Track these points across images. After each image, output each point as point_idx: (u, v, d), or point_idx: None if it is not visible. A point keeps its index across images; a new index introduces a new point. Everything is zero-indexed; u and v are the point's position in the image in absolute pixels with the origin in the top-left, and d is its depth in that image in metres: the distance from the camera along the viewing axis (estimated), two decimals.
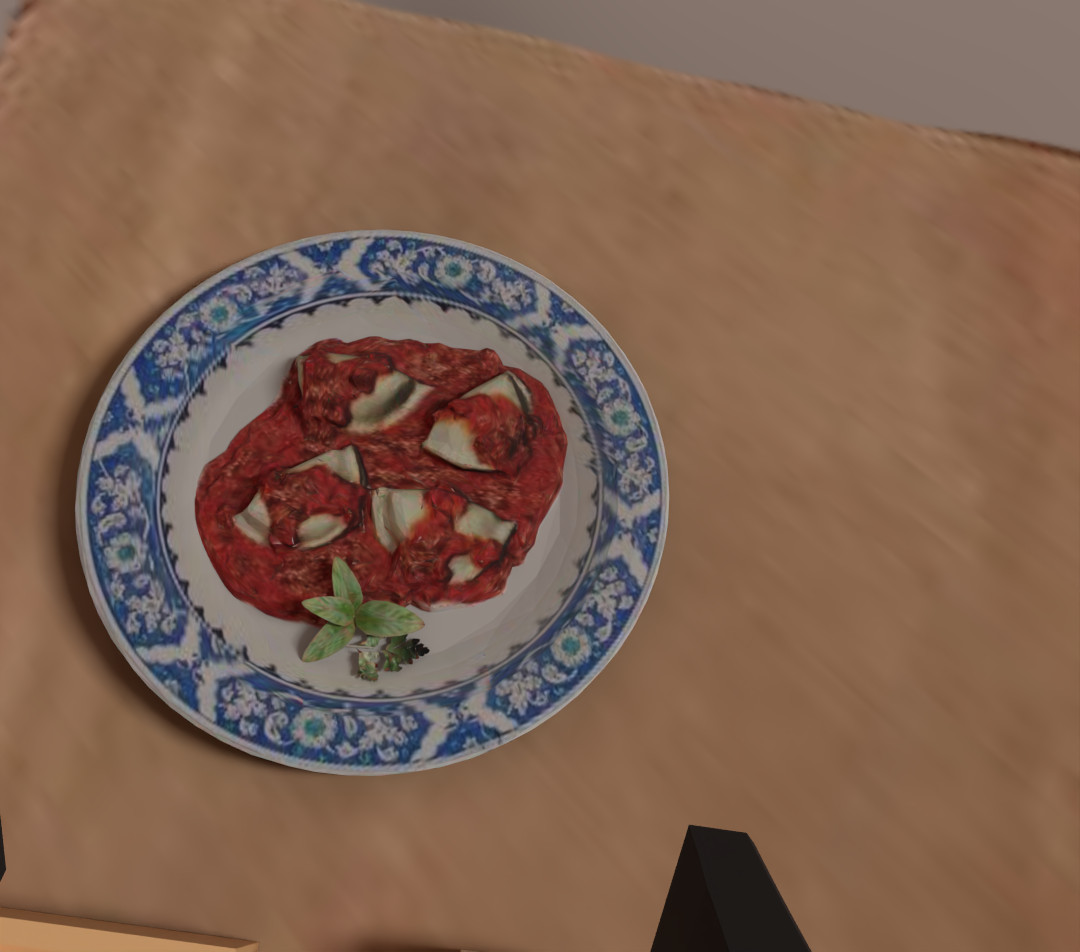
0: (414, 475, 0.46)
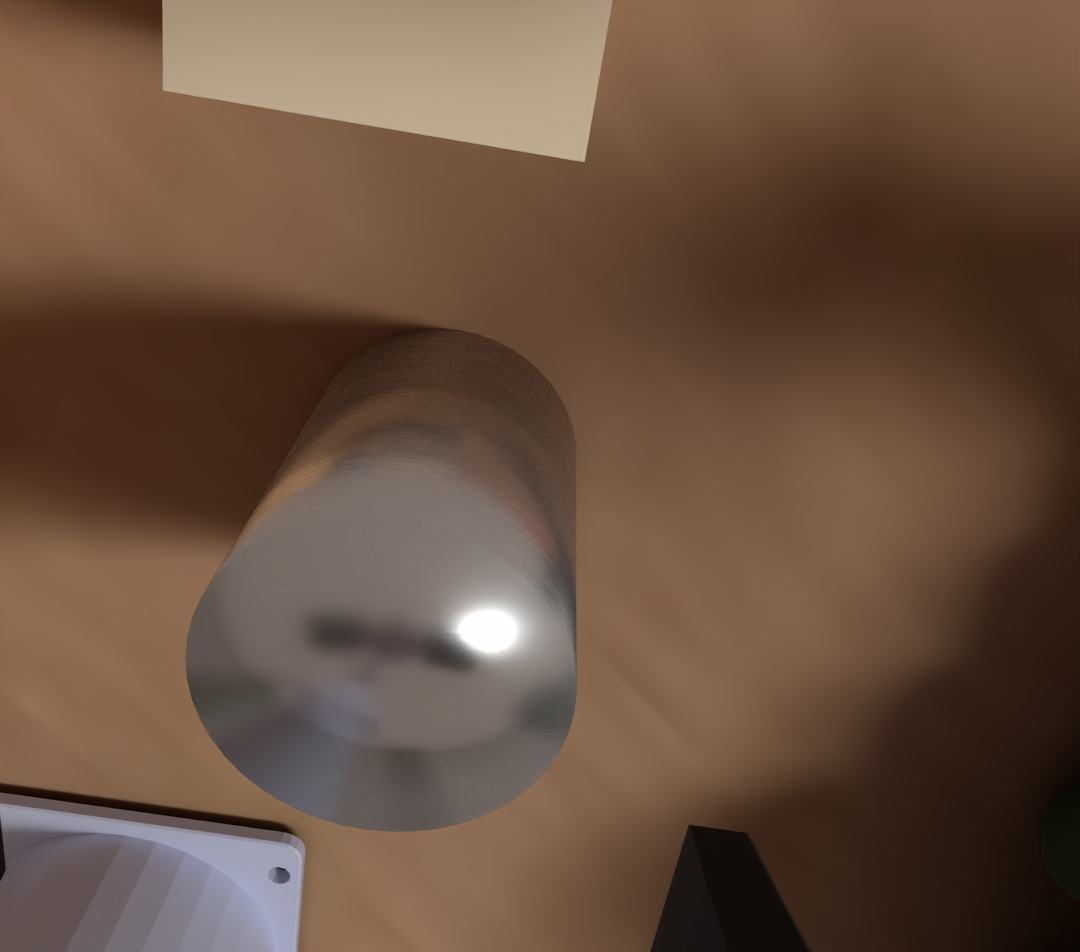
0: None
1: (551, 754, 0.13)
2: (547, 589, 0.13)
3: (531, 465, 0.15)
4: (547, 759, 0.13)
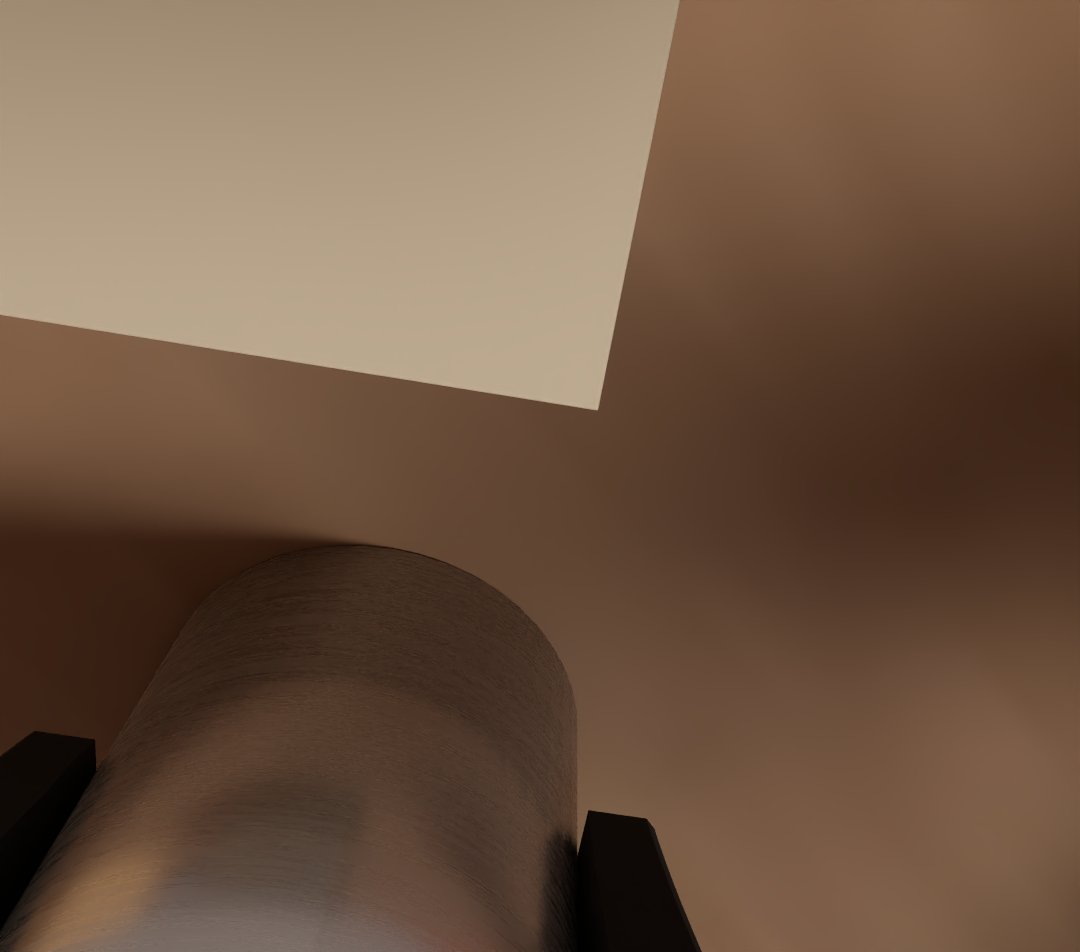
0: None
1: None
2: None
3: (495, 894, 0.08)
4: None
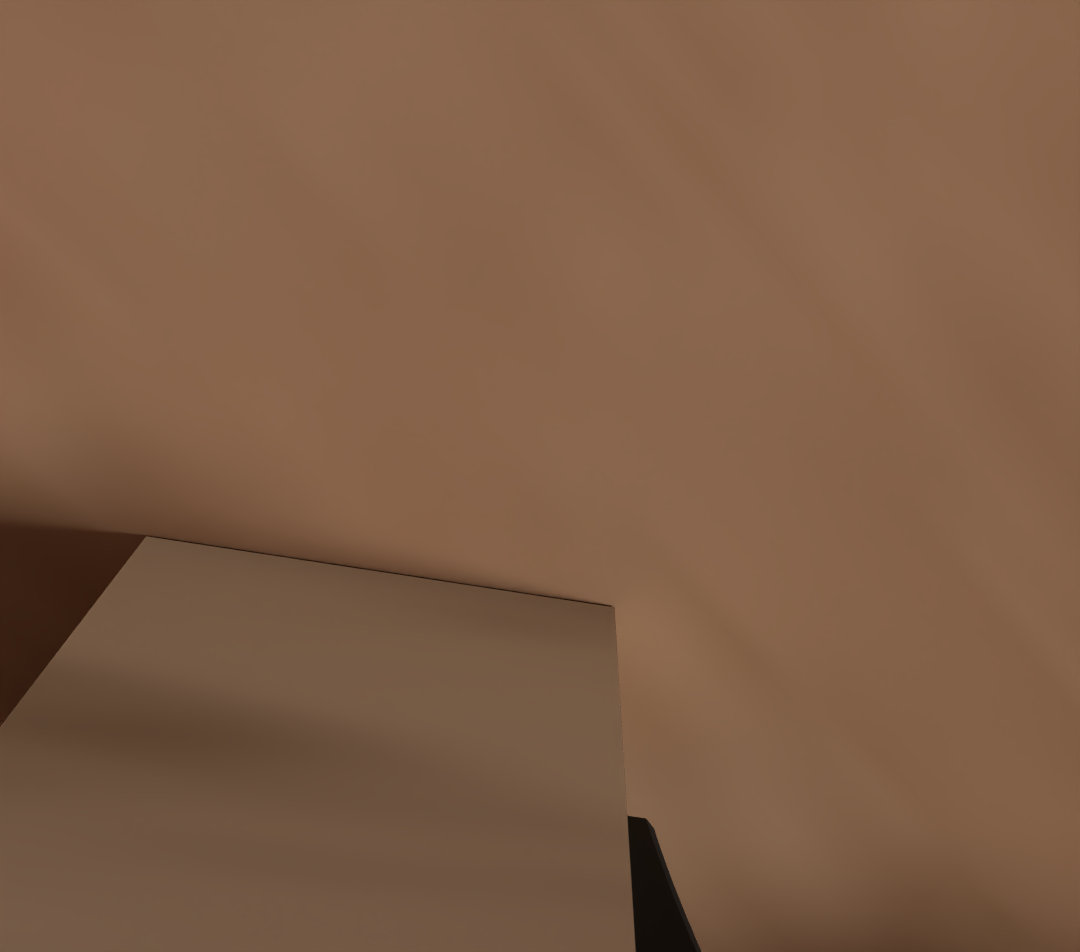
0: None
1: None
2: None
3: None
4: None
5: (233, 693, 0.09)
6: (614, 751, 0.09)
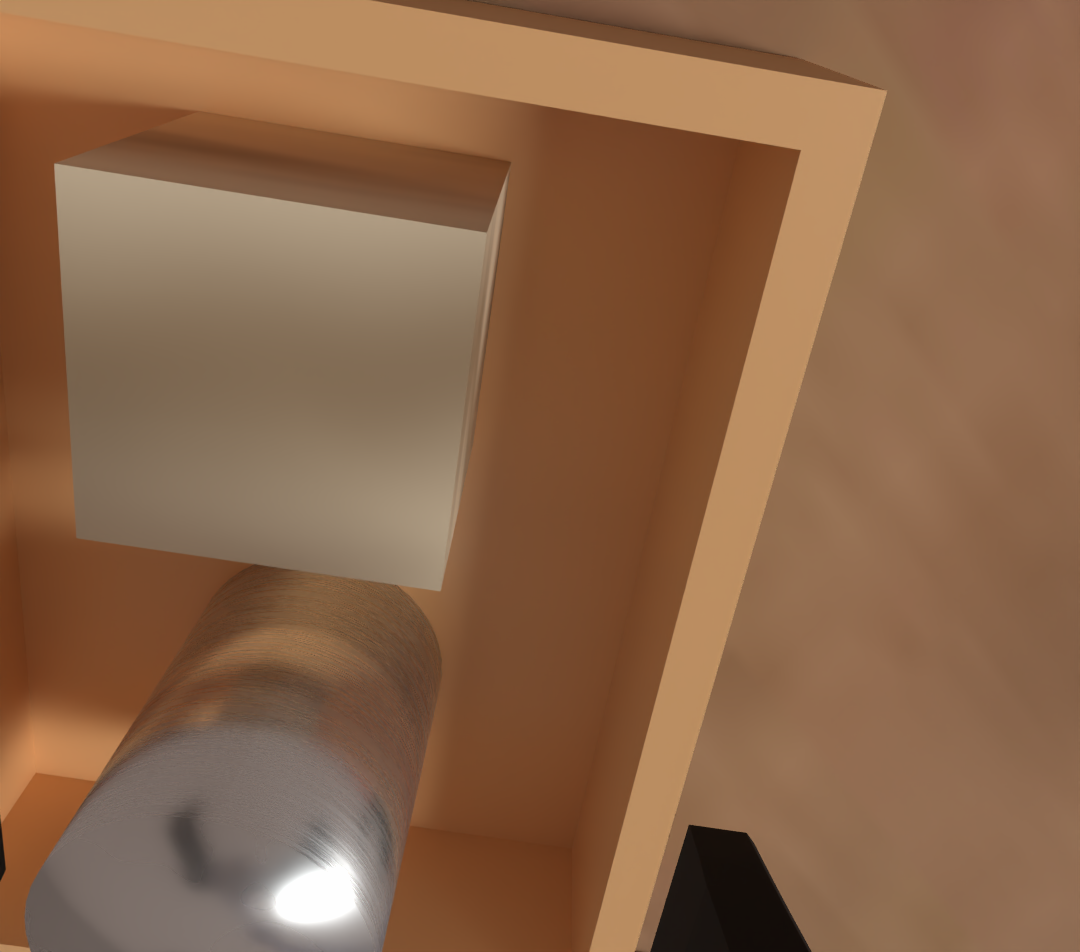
0: None
1: None
2: (363, 896, 0.14)
3: (382, 740, 0.16)
4: None
5: (260, 149, 0.14)
6: (496, 186, 0.14)
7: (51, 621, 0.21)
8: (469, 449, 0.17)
